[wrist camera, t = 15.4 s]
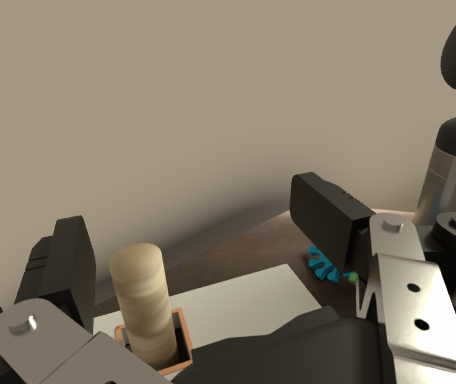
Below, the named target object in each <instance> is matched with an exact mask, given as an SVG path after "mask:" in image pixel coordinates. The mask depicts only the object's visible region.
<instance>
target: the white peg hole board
mask: <svg viewBox="0 0 456 384" xmlns="http://www.w3.org/2000/svg"><path fill="white" fill-rule="evenodd" d="M169 301H170V307H171V313H172V319H173V325H174V329H177V328H181V332H182V335H183V339H184V343H185V346H186V350H187V354H188V357H189V361H186V362H183V363H180V364H178V365H175V366H172V367H169V368H166V369H163V370H160V371H157V372H158V373H160V374H161V375H162V376H164V377H165V378H166V379H168V380H169V381H171V380H172V379H173V378H174V377H175V376H176V375H177V374H178V373H179V372H181V371H182V370H183V369H184V368H185V367H187V366H188V365H190V364H191V363H193V362H192V356H191V350H192V349H195V348H198V347H201V346H204V345H207V344H210V343H213V342H217V341H220V340H223V339H226V338H231V337H244V336H257V335H267V334H270V333H272V332H274V331H275V330H277V329H278V328H280V327H281V326H283V325H284V324H286V323H287V322H289V321H291V320H292V319H294V318H295V317H297V316H298V315H300V314H304V313H307V312H310V311H313V310H316V309H319V308H322V307H321V306H320V305H319V303H318V302H317V301H316V300H315V298H314V297H313V296H312V295H311V293H310V292H309V291H308V290H307V288H306V287H305V286H304V285H303V283H302V282H301V281H300V280H299V278H298V277H297V276H296V275H295V273H294V272H293V271H292V270H291V268H290V267H289V266H288V265H287V264H284V265H280V266H277V267H273V268H270V269H266V270H262V271H259V272H255V273H252V274H248V275H245V276H241V277H238V278H234V279H231V280H227V281H224V282H220V283H216V284H213V285H209V286H206V287H202V288H199V289H195V290H192V291H188V292H185V293H181V294H177V295H174V296H170V297H169ZM99 331H102V332H104V333H106V334H108V335H109V336H110V337H112V338H113V339H114V340H116V341H117V342H118V343H120V344H121V345H122V346H124V347H125V345H126V344H129V343H130V342H129V339H128V335H127V331H126V328H125V324H124V320H123V317H122V313H121V311H117V312H114V313H110V314H107V315H103V316H100V317H96V318H94V325H93V336H94V335H95V334H96V333H98V332H99Z"/></svg>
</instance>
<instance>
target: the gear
mask: <svg viewBox="0 0 456 384" xmlns="http://www.w3.org/2000/svg"><path fill="white" fill-rule="evenodd" d="M308 252H309V253H310V254H311V255H313V256H315V255H321V257H320V259H319V260H315V259H310V260H309V267H311V268H312V269H316V268H317V267H319V266H320V265H325V267H324V268H319V269H317V270H316V271H315V274H316V275H317V277H319V278H320V279H321V280H322V279H324V278H325V276H326V274H327V273H328V272H329V271H330V270H332V269H333V268H334V270H333V271H332V272H330V273H329V274H328V276H327V278H328V279H329V280H330V281H332V282H334V283H337V282H338V281H339V274H340V272H339V271H338V270H337V269H336V268H335V266H334V265H333V264H332V263H331V262H330V261H329V260H328V259H327V258H326V257H325V256H324V254H323V253H322V252H321V251H320V250H318V248H316V247H315V246H314V245H312V246H311V247H310V249H309V251H308ZM357 274H358V273H357V272H356V271H353V272H350V273H347V274H343V276H344V277H346V278H348V281H349V282H350V283H351V284H352V285H354V286H356V278H357Z"/></svg>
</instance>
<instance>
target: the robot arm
mask: <svg viewBox="0 0 456 384" xmlns="http://www.w3.org/2000/svg"><path fill="white" fill-rule="evenodd" d="M441 73H442V75H443V78H444V80H445V81H446V83H447V84H448V85H449V86H450V87H452V88H454V89H456V26H455V27H454V28H453V30H452V32H451V33H450V35H449V37H448V39H447V41H446V43H445V46H444V48H443V52H442V56H441ZM290 215H291V218H292V220H293V222H294V223H295V224H296V225H297V226H298V227H299V228H300V229H301V231H302V232H303V233H304V234H305V235H306V236H307V237H308V238H309V239H310V240H311V241H312V243H313V244H314V245H315V246H316V247H317V248H318V249H319V250H320V251H321V252H322V253H323V254H324V256H325V257H326V258H327V259H328V260H329V261H330V262H331V263H332V264H333V265H334V266H335V268H336V269H337V270H338V271H339V272H340V273H341V274H342V275H343V274H347V273H350V272H353V271H356V272H357V273H358V274H357V278H356V311H357V317H355V316H344V315H337V313H336V312H335V311H334V310H333V308H332V307H331V306H330V305H328V306H325V307H322V308H319V309H316V310H313V311H310V312H307V313H304V314H300V315H298V316H297V317H295V318H294V319H292V320H291V321H289V322H287V323H286V324H284V325H283V326H281V327H280V328H278V329H277V330H275V331H274V332H272V333H270V334H267V335H257V336H244V337H231V338H226V339H223V340H220V341H217V342H213V343H210V344H207V345H204V346H201V347H198V348H195V349H192V350H191V356H192V362H193V363H191V364H190V365H188V366H187V367H185V368H184V369H183V370H182V371H181V372H179V373H178V374H177V375H176V376H175V377H174V378H173V379H172V380H171V381H169V380H168V379H166V378H165V377H164V376H162V375H161V374H160V373H158V372H157V371H156V370H154V369H153V368H152V367H150V366H149V365H148V364H146V363H145V362H144V361H142V360H141V359H140V358H138V357H137V356H136V355H134V354H133V353H132V352H130V351H129V350H128V349H126V348H125V347H124V346H122V345H121V344H120V343H118V342H117V341H116V340H114V339H113V338H112V337H110V336H109V335H108V334H106V333H104V332H102V331H99V332H98V333H96V334H95V335H94V336H93V325H94V303H95V301H94V300H95V280H96V279H95V278H96V262H95V256H94V251H93V248H92V245H91V242H90V238H89V235H88V232H87V229H86V226H85V222H84V219H83V217H82V216H81V215H80V216H75V217H70V218H64V219H59V220H57V221H56V225H55V229H54V233H53V236H48V237H43V238H42V239H41V240H40V241H39V242H38V243H37V244H36V245H35V246H34V247H33V248H32V251H31V254H30V257H29V262H28V263H27V266H26V269H25V270H26V272H24V275H23V278H22V281H21V284H20V287H19V290H18V293H17V297H16V300H15V303H14V305H13V306H11V307H9V308H8V309H6V310H5V311H4V312H2V313H1V314H0V384H456V118H453V119H450V120H448V121H446V122H445V123H443V124H442V125H441V127H440V129H439V132H438V135H437V138H436V142H435V145H434V149H433V152H432V155H431V159H430V162H429V166H428V170H427V173H426V177H425V180H424V183H423V187H422V190H421V194H420V197H419V201H418V205H417V208H416V211H415V215H414V218H413V222H411V221H409V220H408V219H406V218H404V217H402V216H399V215H395V214H391V213H379V214H376V213H375V212H374V211H372V210H371V209H369V208H368V207H366V206H365V205H364V204H363V203H361V202H360V201H358V200H357V199H355V198H353V196H351V195H350V194H349V193H346V191H344V190H343V189H342V188H340V187H339V186H337V185H335V184H332V183H330V182H327V181H324V180H323V179H322V178H320V177H319V176H317V175H316V174H315V173H313V172H308V173H302V174H297V175H294V176H293V178H292V183H291V197H290Z"/></svg>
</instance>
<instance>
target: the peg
mask: <svg viewBox="0 0 456 384" xmlns="http://www.w3.org/2000/svg"><path fill="white" fill-rule="evenodd" d="M109 269H110V273H111V276H112V280H113V284H114V288H115V291H116V295H117V299H118V302H119V306H120V310H121V313H122V317H123V320H124V324H125V328H126V331H127V335H128V339H129V342H130V346H131V350H132V353H133V354H134V355H136V356H137V357H138V358H140V359H141V360H142V361H144V362H145V363H146V364H148V365H149V366H150V367H152V368H153V369H154V370H156V371H160V370H163V369H166V368H169V367H172V366H175V365H177V364H178V361H179V354H178V348H177V342H176V337H175V331H174V325H173V319H172V313H171V307H170V301H169V296H168V290H167V284H166V278H165V272H164V266H163V261H162V255H161V251H160V249H159V248H158V247H156V246H155V245H152V244H148V243H137V244H132V245H129V246H126V247H124V248H122V249H120V250H118V251H117V252H116V253H115V254H114V255H113V256H112V257H111V258H110V260H109Z"/></svg>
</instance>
